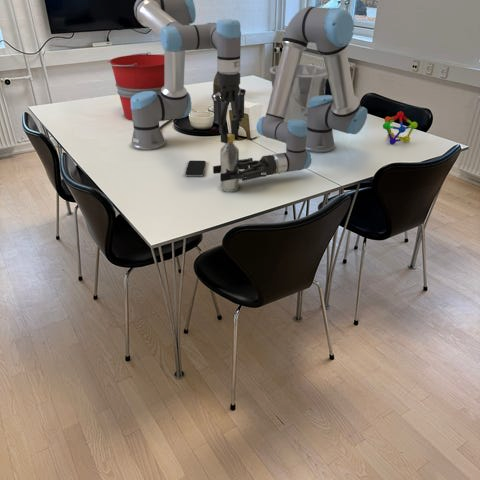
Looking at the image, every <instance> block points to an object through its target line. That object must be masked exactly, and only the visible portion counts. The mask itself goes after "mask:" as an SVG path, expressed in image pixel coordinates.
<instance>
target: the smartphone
mask: <svg viewBox="0 0 480 480" xmlns="http://www.w3.org/2000/svg"><path fill="white" fill-rule="evenodd" d="M206 163H207V161H206V160H189V161H188V163H187V166H186V170H185V174H184V175H185V177H203V176H204V174H205V169H206Z"/></svg>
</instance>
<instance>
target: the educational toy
mask: <svg viewBox="0 0 480 480" xmlns="http://www.w3.org/2000/svg"><path fill="white" fill-rule="evenodd" d="M397 119H399V124H400V125H399V127H398V126H393V125H391V124H392V123H394V122H395V121H396V120H397ZM403 120H404V121H405V122H407V123H408V124H409V125H407V126H404V123H403ZM417 127H418V122H417V121H411V120H410V119H409V118H408V117H406V116H405V113H404V112H403V111H401V110H400V111H398V112H397V114H396V115H394V116H391V117H390V116H386V117H385V118H384V122H383V123H382V129H383V130H386V132H387V138H388V142H389V145H395V144H396V143H397V142H402V141H403V142H404V143H409V142H410V140H411V138H410V136H411V134H412V132H413V131H414V130H415V129H417ZM392 129H393V130H397V131H398V132H396V134H395V133H394V132H392ZM408 129H409V131H408V133H407V134H406V135H404V136H401V134H403V133H405V132H406V130H408ZM399 135H400V136H399Z"/></svg>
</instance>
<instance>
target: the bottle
mask: <svg viewBox="0 0 480 480" xmlns="http://www.w3.org/2000/svg"><path fill="white" fill-rule="evenodd" d="M219 151H220V152H219V153H220V155H219V157H220V159H219V161H220V165H221V173H220V174H222V173H228V172H234V171H237V172H238V170H239V160H240V150H239V148H238V147H237V146H236V145H235V144H234V142H227V143H226V144H225V143H224V145H223V146H222V147H221V148H220V150H219ZM220 189H221V191H223V192H225V193H226V192H227V193H233V192H237V191H238V190H239V189H240V179H232V180H227V181H220Z"/></svg>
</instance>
